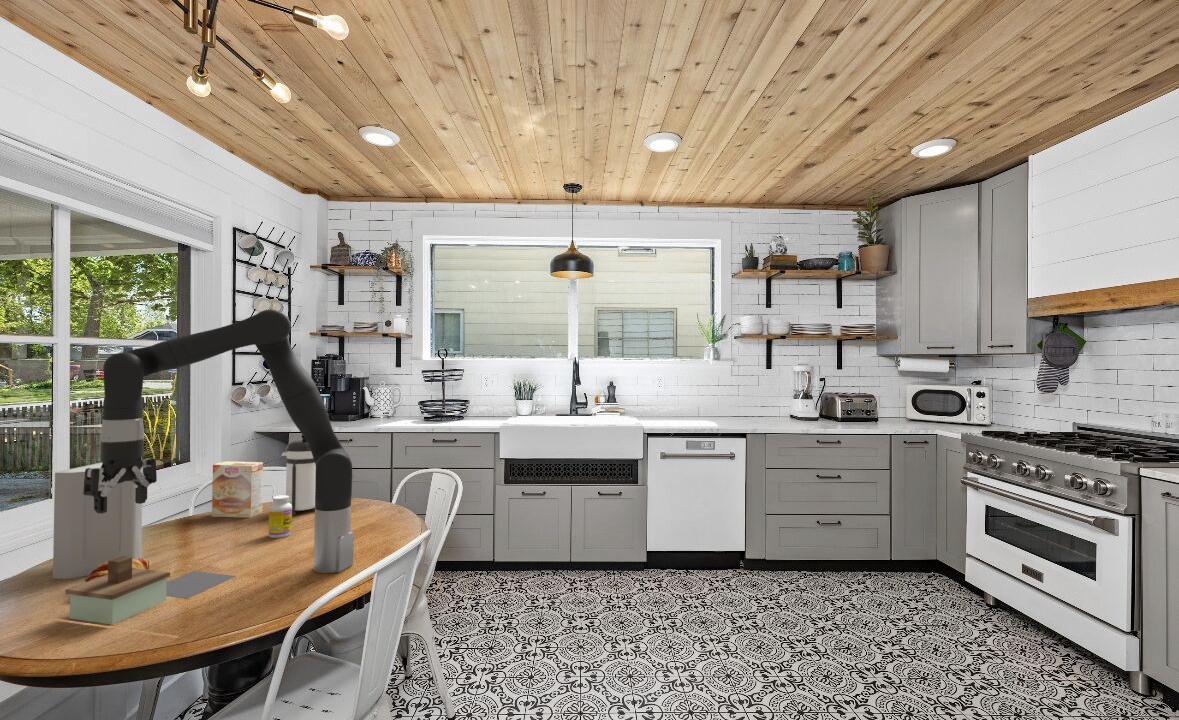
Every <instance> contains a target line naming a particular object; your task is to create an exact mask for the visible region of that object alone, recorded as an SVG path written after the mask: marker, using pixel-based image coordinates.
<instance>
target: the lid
mask: <svg viewBox="0 0 1179 720" xmlns="http://www.w3.org/2000/svg"><path fill="white" fill-rule="evenodd" d="M170 577H171V572H169V571H162V570H154V569H148V570H145V569H137V568H132V557H125V556H121V557H118V558H115V559H112V560H109V561H108V574H107V575H104V576H101V577H99V578H96V579H93V580H90V581H87V582H85V581H84V582H82V583H79V584H77V585H74V586H71V587H68V588H66V589H65V591H64V592H65V593H64V594H66V595H70V594H71V595H78V596H86V597H93V598H101V599H108V600H113V599H116V598H118V597H121V596H123V595H125V594H128V593H130V592H133V591H135V590H138V589H140V588H143V587H145V586H148V585H150V584H153V583H155V582H158V581H160V580H163V579H165V578H170Z"/></svg>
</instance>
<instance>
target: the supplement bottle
mask: <svg viewBox="0 0 1179 720" xmlns="http://www.w3.org/2000/svg"><path fill="white" fill-rule="evenodd" d="M288 501H289V496H287V495H286V494H283V495H281V494H280V495H276V496H273V497H272V502H273V504H271V505H270V507H269V509H268V536H269V538H273V539H280V538H286V537H288V536H290V535H291V534H292V528H293V526H292V523H293V521H292V520H293V516H292V505H291V504H290V503H288Z"/></svg>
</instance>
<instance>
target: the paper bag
mask: <svg viewBox="0 0 1179 720" xmlns="http://www.w3.org/2000/svg"><path fill="white" fill-rule="evenodd" d="M101 466H102V461H101V462H97V463H92V464H87V465H83V466H78V467H74V468H69V469H64V470H60V471H59V470H58V471H55V472H54V493H53V494H54V500H53V501H54V502H53V504H54V505H53V508H54V509H53V545H52V546H53V547H52V548H53V549H52V551H53V553H52V554H53V558H52V559H53V560H52V561H53V562H52V579H53V580H54V579H58V580H59V579H61V580H62V579H63V580H64V579H65V580H66V579H67V580H68V579H75V578H79V577H80V578H81V577H84V576H85V575H86V576H90V574H91V572H92V571H93V570H94V569H95V568H97V567H98V566H99V565H101V564H103V563H105V562H108V561H109V560H112V559H115V558H118V557H121V556H125V557H132V559H139V558H142V547H143V546H142V542H143V541H142V538H143V537H142V535H143V532H142V531H143V528H142V527H143V503H142V504H138V503H136V502H135V488H137V487H138V486H136V485H135V484H134V483H133V482H132V481H124V482H122V483H116V485H115V486H114V487H113V488H111V489H110V490H109V492H108V493H107V495H106V496H107V512H106V513H96V511H95V510H94V497H93V496H88V495H84V494H83V490H84V478H85V470H86V469H87V468H101ZM140 472H141V473H142V474H143V475H144V473H143V467H142V468H141V469H140ZM102 477H103V474H102V473H101V476H100V477H99V481H100V479H101V478H102ZM107 482H109V481H107Z"/></svg>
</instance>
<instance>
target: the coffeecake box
mask: <svg viewBox="0 0 1179 720" xmlns="http://www.w3.org/2000/svg"><path fill="white" fill-rule="evenodd" d="M263 475H264V462H261V461H259V462H258V461H232V460H231V461H229V460H228V461H227V460H225V461H222V462H217V463H213V464H212V490H211V491H212V493H211V517H214V518H215V517H216V518H245V519H247V518H249V519H251V518H253V517H255V516H257V515H258V516H259V515H260V514H262V513H263V493H264V492H263V491H264V490H263V488H264V487H263V485H264V484H263V483H264V480H263Z"/></svg>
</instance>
